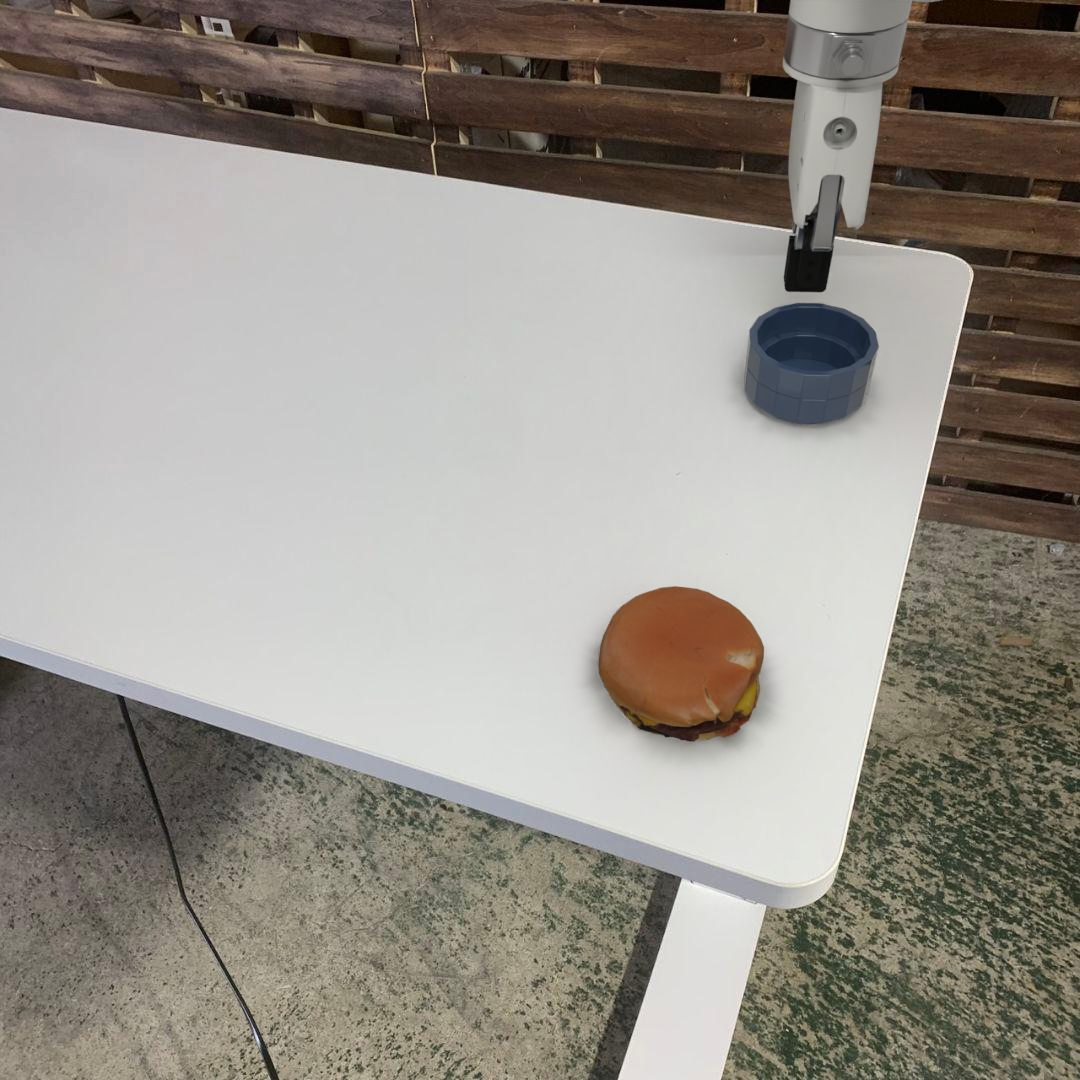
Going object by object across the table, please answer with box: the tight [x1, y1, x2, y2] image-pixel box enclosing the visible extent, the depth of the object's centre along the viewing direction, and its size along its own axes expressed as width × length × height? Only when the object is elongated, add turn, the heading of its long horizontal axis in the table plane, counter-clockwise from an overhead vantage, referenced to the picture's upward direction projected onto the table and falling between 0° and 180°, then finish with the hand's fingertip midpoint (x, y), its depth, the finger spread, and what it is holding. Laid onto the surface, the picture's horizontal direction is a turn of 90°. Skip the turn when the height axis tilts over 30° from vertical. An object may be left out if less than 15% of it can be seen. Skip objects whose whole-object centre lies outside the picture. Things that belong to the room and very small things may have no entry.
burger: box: [597, 585, 765, 743], centre depth 56 cm, size 10×9×5 cm
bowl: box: [743, 302, 880, 425], centre depth 74 cm, size 9×9×5 cm
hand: (804, 286), depth 77 cm, fingers closed
